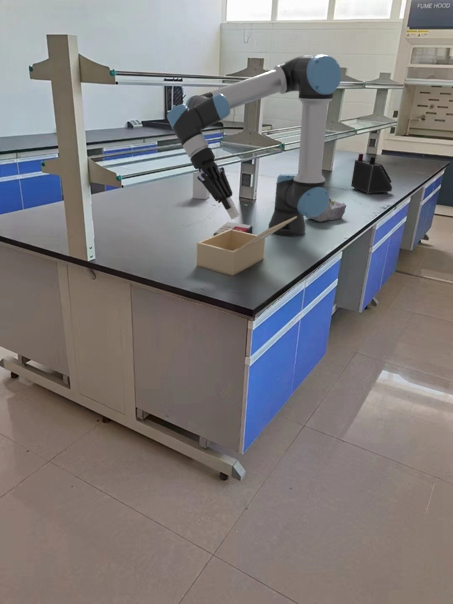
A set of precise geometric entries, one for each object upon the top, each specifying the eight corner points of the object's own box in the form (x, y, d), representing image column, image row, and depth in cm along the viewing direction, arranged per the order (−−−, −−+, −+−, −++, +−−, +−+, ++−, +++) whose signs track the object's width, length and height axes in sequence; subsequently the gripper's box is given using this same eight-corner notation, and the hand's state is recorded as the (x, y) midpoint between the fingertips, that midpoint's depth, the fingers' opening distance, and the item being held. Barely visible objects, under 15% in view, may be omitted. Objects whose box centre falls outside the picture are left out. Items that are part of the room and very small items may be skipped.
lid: (296, 216, 156) (297, 217, 156) (265, 236, 165) (266, 238, 165) (266, 229, 141) (267, 231, 141) (234, 251, 150) (235, 253, 150)
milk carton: (206, 199, 242) (207, 160, 234) (192, 198, 244) (193, 159, 235) (209, 196, 249) (210, 158, 241) (196, 195, 250) (197, 157, 242)
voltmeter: (391, 193, 276) (398, 157, 268) (367, 195, 270) (373, 158, 262) (373, 187, 290) (379, 153, 281) (350, 188, 284) (356, 153, 275)
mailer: (229, 250, 176) (230, 229, 172) (263, 259, 169) (265, 237, 165) (196, 265, 160) (197, 242, 157) (232, 276, 154) (233, 252, 150)
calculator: (213, 231, 184) (227, 220, 196) (212, 242, 186) (226, 230, 198) (240, 236, 180) (253, 224, 193) (240, 247, 182) (252, 234, 195)
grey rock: (302, 195, 214) (326, 189, 228) (299, 219, 218) (322, 212, 233) (328, 200, 207) (351, 194, 221) (325, 225, 211) (347, 218, 225)
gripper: (203, 155, 164) (237, 217, 166) (180, 161, 154) (217, 227, 156) (218, 143, 159) (253, 207, 161) (195, 149, 149) (233, 216, 151)
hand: (235, 217), depth 158 cm, fingers closed
